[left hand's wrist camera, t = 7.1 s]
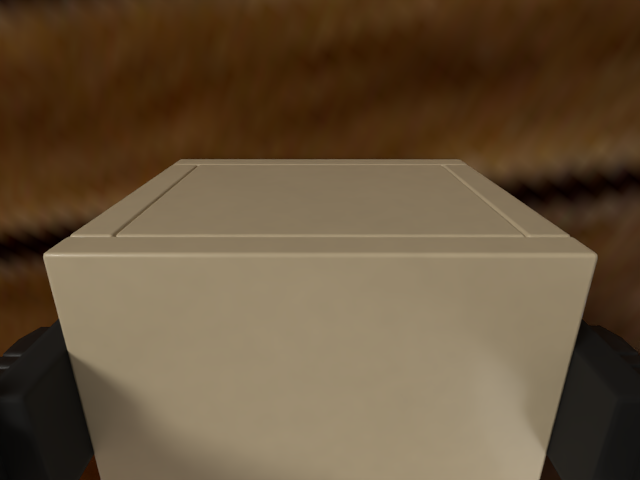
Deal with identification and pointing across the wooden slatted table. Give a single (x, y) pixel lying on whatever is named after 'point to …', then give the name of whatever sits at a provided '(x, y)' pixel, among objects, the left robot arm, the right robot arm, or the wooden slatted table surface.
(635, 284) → the wooden slatted table surface
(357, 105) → the wooden slatted table surface
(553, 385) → the cabinet
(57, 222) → the wooden slatted table surface
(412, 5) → the wooden slatted table surface
